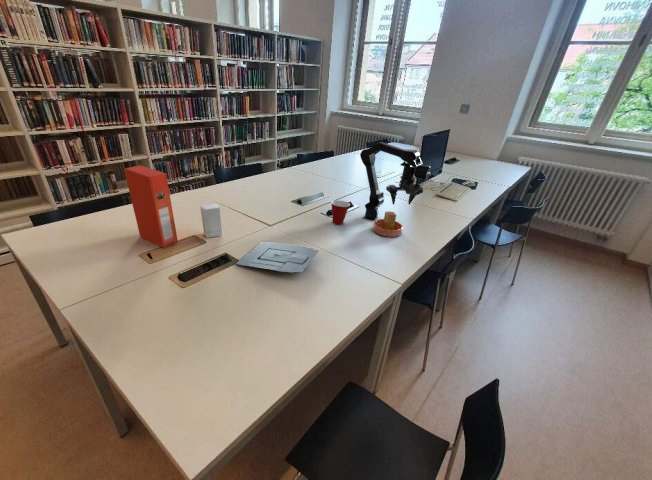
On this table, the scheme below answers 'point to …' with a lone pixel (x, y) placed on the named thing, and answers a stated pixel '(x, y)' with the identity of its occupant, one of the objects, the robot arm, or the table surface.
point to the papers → (279, 257)
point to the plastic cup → (339, 211)
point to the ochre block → (389, 220)
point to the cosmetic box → (211, 220)
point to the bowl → (390, 233)
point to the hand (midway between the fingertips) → (401, 204)
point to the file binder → (152, 205)
